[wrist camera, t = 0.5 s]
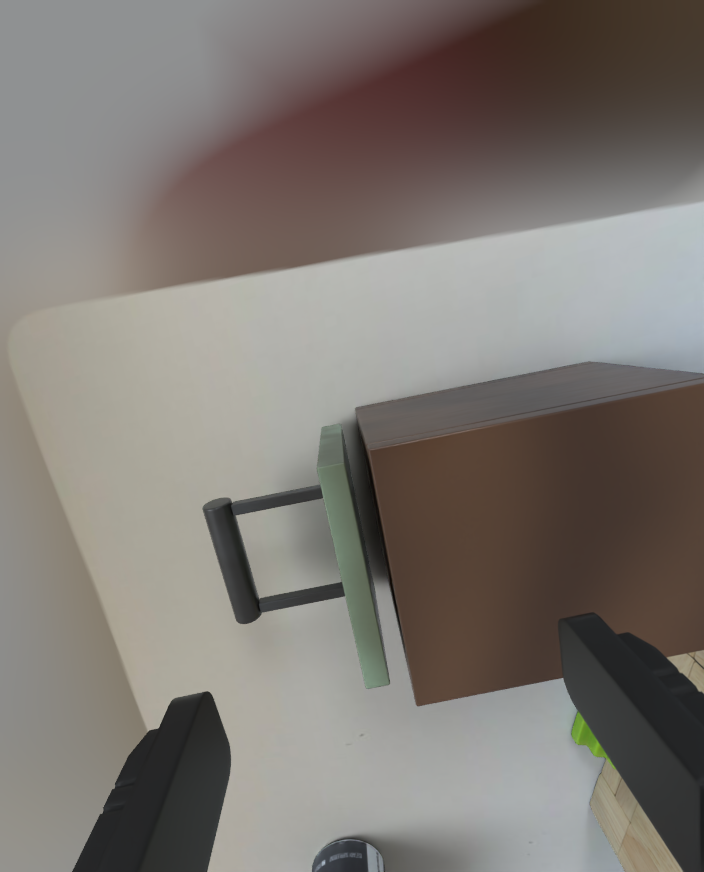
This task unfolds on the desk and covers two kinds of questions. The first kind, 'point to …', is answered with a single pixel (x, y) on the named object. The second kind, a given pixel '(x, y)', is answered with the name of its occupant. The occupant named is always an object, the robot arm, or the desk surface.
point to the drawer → (346, 543)
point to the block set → (617, 807)
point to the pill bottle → (348, 858)
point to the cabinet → (538, 518)
